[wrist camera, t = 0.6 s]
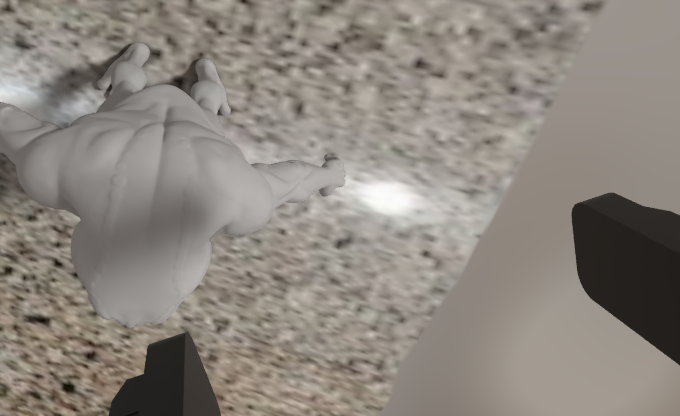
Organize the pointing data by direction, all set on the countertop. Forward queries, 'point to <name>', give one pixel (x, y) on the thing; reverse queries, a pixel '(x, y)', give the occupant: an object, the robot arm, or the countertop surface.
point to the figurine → (151, 186)
